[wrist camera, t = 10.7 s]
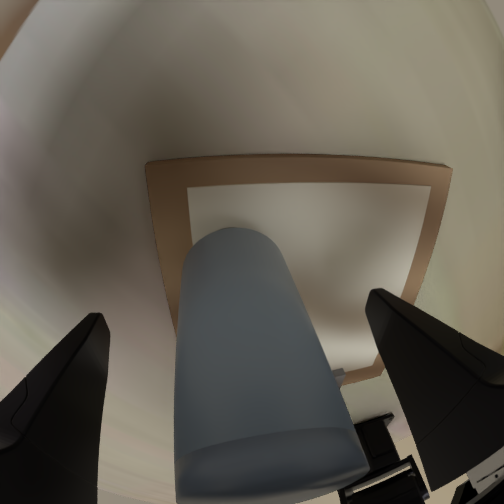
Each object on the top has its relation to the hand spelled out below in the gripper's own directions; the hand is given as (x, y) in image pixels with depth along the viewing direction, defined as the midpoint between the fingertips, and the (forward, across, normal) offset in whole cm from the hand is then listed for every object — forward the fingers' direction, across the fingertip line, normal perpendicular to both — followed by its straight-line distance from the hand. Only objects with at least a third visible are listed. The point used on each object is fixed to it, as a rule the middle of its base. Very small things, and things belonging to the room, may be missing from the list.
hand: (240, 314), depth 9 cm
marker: (+4, 0, 0) cm, 4 cm away
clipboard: (+4, -4, +4) cm, 7 cm away
